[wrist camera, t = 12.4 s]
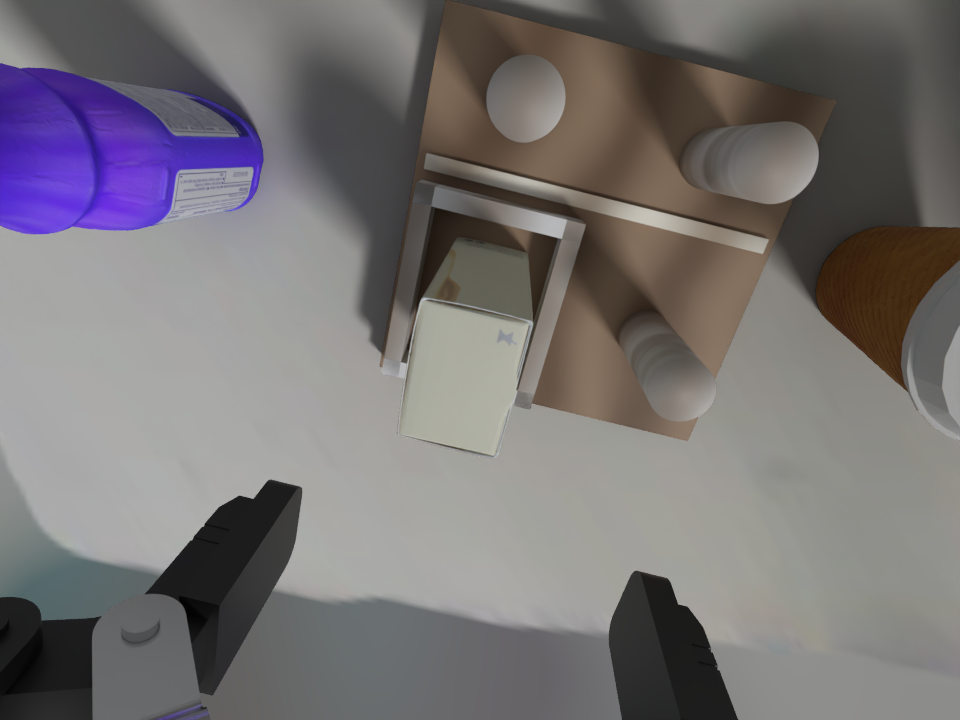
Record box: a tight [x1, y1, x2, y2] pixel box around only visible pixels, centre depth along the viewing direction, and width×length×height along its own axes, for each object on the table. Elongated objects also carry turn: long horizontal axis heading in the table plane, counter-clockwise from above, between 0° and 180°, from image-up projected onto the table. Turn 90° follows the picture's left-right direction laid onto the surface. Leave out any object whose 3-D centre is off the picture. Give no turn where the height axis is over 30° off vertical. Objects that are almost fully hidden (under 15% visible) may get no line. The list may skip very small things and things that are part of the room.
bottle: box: [0, 63, 263, 234], centre depth 23 cm, size 7×6×17 cm
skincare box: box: [397, 237, 533, 459], centre depth 26 cm, size 6×4×12 cm
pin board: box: [380, 0, 837, 441], centre depth 27 cm, size 20×20×10 cm
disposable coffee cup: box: [816, 226, 960, 441], centre depth 26 cm, size 10×10×12 cm
